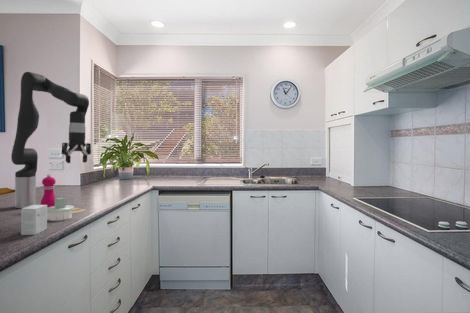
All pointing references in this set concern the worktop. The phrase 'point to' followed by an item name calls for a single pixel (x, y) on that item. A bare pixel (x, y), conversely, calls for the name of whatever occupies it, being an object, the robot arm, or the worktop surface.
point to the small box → (33, 219)
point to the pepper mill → (48, 191)
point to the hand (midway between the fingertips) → (76, 162)
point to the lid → (60, 206)
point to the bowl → (59, 215)
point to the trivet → (77, 210)
